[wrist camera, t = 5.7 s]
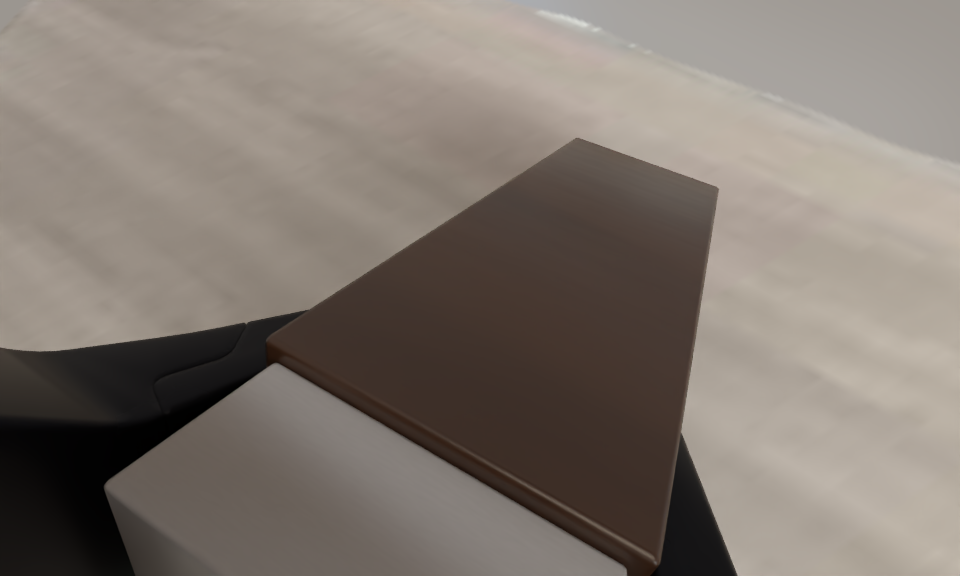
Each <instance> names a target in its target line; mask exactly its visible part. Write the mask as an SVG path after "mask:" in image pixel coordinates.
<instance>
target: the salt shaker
mask: <svg viewBox="0 0 960 576" xmlns="http://www.w3.org/2000/svg"><path fill="white" fill-rule="evenodd" d="M718 191H719V189H718V188H717V187H715V186H712V185H709V184H707V183H704V182H701V181H698V180H695V179H693V178H690V177H687V176H684V175H681V174H678V173H676V172H673V171H670V170H667V169H664V168H662V167H659V166H656V165H653V164H650V163H647V162H645V161H642V160H639V159H636V158H633V157H630V156H628V155H625V154H622V153H619V152H616V151H614V150H611V149H608V148H605V147H602V146H599V145H597V144H594V143H591V142H588V141H585V140H583V139H580V138H576V139H574V140H572V141H571V142H569V143H568V144H566V145H565V146H563V147H562V148H560V149H558V150H557V151H555V152H554V153H552V154H551V155H549V156H548V157H546V158H545V159H543V160H541V161H540V162H538V163H537V164H535V165H534V166H532V167H531V168H529V169H527V170H526V171H524V172H523V173H521V174H520V175H518V176H517V177H515V178H513V179H512V180H510V181H509V182H507V183H506V184H504V185H503V186H501V187H499V188H498V189H496V190H495V191H493V192H492V193H490V194H489V195H487V196H485V197H484V198H482V199H481V200H479V201H478V202H476V203H475V204H473V205H471V206H470V207H468V208H467V209H465V210H464V211H462V212H461V213H459V214H457V215H456V216H454V217H453V218H451V219H450V220H448V221H447V222H445V223H443V224H442V225H440V226H439V227H437V228H436V229H434V230H433V231H431V232H429V233H428V234H426V235H425V236H423V237H422V238H420V239H419V240H417V241H415V242H414V243H412V244H411V245H409V246H408V247H406V248H405V249H403V250H401V251H400V252H398V253H397V254H395V255H394V256H392V257H391V258H389V259H388V260H386V261H384V262H383V263H381V264H380V265H378V266H377V267H375V268H374V269H372V270H370V271H369V272H367V273H366V274H364V275H363V276H361V277H360V278H358V279H356V280H355V281H353V282H352V283H350V284H349V285H347V286H346V287H344V288H342V289H341V290H339V291H338V292H336V293H335V294H333V295H332V296H330V297H328V298H327V299H325V300H324V301H322V302H321V303H319V304H318V305H316V306H314V307H313V308H311V309H310V310H308V311H307V312H305V313H304V314H302V315H300V316H299V317H297V318H296V319H294V320H293V321H291V322H290V323H288V324H286V325H285V326H283V327H282V328H280V329H279V330H277V331H276V332H274V333H272V334H271V335H270V336H269V337H268V338H267V340H266V342H265V350H266V369H265V370H263V371H262V372H260V373H259V374H257V375H256V376H255V377H253V378H252V379H250V380H249V381H248V382H246V383H245V384H243V385H242V386H241V387H239V388H238V389H236V390H235V391H233V392H232V393H231V394H229V395H228V396H226V397H225V398H224V399H222V400H221V401H219V402H218V403H217V404H215V405H214V406H212V407H211V408H209V409H208V410H207V411H205V412H204V413H202V414H201V415H200V416H198V417H197V418H195V419H194V420H192V421H191V422H190V423H188V424H187V425H185V426H184V427H183V428H181V429H180V430H178V431H177V432H176V433H174V434H173V435H171V436H170V437H168V438H167V439H166V440H164V441H163V442H161V443H160V444H159V445H157V446H156V447H154V448H153V449H152V450H150V451H149V452H147V453H146V454H144V455H143V456H142V457H140V458H139V459H137V460H136V461H135V462H133V463H132V464H130V465H129V466H128V467H126V468H125V469H123V470H122V471H120V472H119V473H118V474H116V475H115V476H113V477H112V478H111V479H109V480H108V481H107V482H106V483H105V485H104V490H105V493H106V496H107V499H108V501H109V504H110V507H111V510H112V512H113V515H114V518H115V521H116V523H117V526H118V529H119V532H120V534H121V537H122V540H123V543H124V545H125V548H126V551H127V554H128V556H129V559H130V562H131V565H132V567H133V570H134V573H135V576H650V575H651V574H652V573H653V572H654V571H655V570H656V568H657V567H658V566H659V565H660V563H661V557H662V550H663V544H664V538H665V531H666V525H667V518H668V512H669V505H670V499H671V493H672V486H673V480H674V473H675V467H676V461H677V454H678V448H679V441H680V435H681V428H682V422H683V416H684V409H685V403H686V396H687V390H688V384H689V377H690V371H691V364H692V358H693V351H694V345H695V339H696V332H697V326H698V319H699V313H700V306H701V300H702V294H703V287H704V281H705V274H706V268H707V262H708V255H709V249H710V242H711V236H712V229H713V223H714V217H715V210H716V204H717V197H718Z"/></svg>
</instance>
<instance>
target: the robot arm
mask: <svg viewBox="0 0 960 576" xmlns="http://www.w3.org/2000/svg"><path fill="white" fill-rule="evenodd" d="M307 311H308V310H305V311H300V312H295V313H290V314H285V315H280V316H275V317H270V318H266V319H261V320H256V321H251V322H248V323H247V325H246V324H245V323H240V324H235V325H230V326H225V327H220V328H215V329H209V330H204V331H198V332H193V333H187V334H180V335H173V336H167V337H160V338H153V339H145V340H138V341H130V342H123V343H115V344H108V345H100V346H93V347H85V348H78V349H70V350H61V351H41V352H38V351H21V350H13V349H6V348H0V576H135V573H134V570H133V567H132V565H131V562H130V559H129V556H128V554H127V551H126V548H125V545H124V543H123V540H122V537H121V534H120V532H119V529H118V526H117V523H116V521H115V518H114V515H113V512H112V510H111V507H110V504H109V501H108V499H107V496H106V493H105V490H104V485H105V483H106V482H107V481H108V480H109V479H111V478H112V477H113V476H115V475H116V474H118V473H119V472H120V471H122V470H123V469H125V468H126V467H128V466H129V465H130V464H132V463H133V462H135V461H136V460H137V459H139V458H140V457H142V456H143V455H144V454H146V453H147V452H149V451H150V450H152V449H153V448H154V447H156V446H157V445H159V444H160V443H161V442H163V441H164V440H166V439H167V438H168V437H170V436H171V435H173V434H174V433H176V432H177V431H178V430H180V429H181V428H183V427H184V426H185V425H187V424H188V423H190V422H191V421H192V420H194V419H195V418H197V417H198V416H200V415H201V414H202V413H204V412H205V411H207V410H208V409H209V408H211V407H212V406H214V405H215V404H217V403H218V402H219V401H221V400H222V399H224V398H225V397H226V396H228V395H229V394H231V393H232V392H233V391H235V390H236V389H238V388H239V387H241V386H242V385H243V384H245V383H246V382H248V381H249V380H250V379H252V378H253V377H255V376H256V375H257V374H259V373H260V372H262V371H263V370H265V369H266V350H265V342H266V340H267V338H268V337H269V336H270V335H271V334H272V333H274V332H276V331H277V330H279V329H280V328H282V327H283V326H285V325H286V324H288V323H290V322H291V321H293V320H294V319H296V318H297V317H299V316H300V315H302V314H304V313H305V312H307ZM650 576H737V573H736V571H735V568H734V565H733V563H732V560H731V558H730V555H729V553H728V550H727V548H726V545H725V543H724V540H723V537H722V535H721V532H720V530H719V527H718V525H717V522H716V520H715V517H714V515H713V512H712V509H711V507H710V504H709V502H708V499H707V497H706V494H705V492H704V489H703V487H702V484H701V482H700V479H699V476H698V474H697V471H696V469H695V466H694V464H693V461H692V459H691V456H690V454H689V451H688V448H687V446H686V443H685V441H684V438H683V436H682V433H681V435H680V441H679V448H678V454H677V461H676V467H675V473H674V480H673V486H672V493H671V499H670V505H669V512H668V518H667V525H666V531H665V538H664V544H663V550H662V557H661V563H660V565H659V566H658V567H657V568H656V570H655V571H654V572H653V573H652V574H651V575H650Z"/></svg>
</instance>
